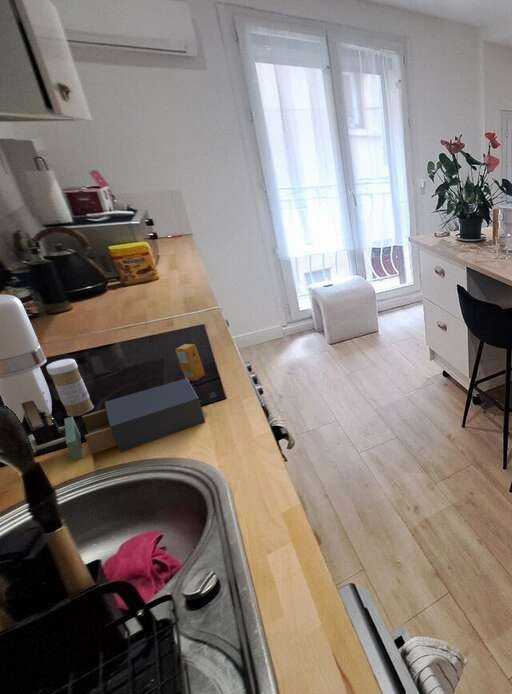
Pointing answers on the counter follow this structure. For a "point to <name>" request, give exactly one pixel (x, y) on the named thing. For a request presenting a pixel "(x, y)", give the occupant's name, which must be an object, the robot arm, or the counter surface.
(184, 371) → the supplement box
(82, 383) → the sprinkles bottle
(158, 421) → the cabinet
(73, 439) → the drawer
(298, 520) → the counter surface
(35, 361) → the robot arm
